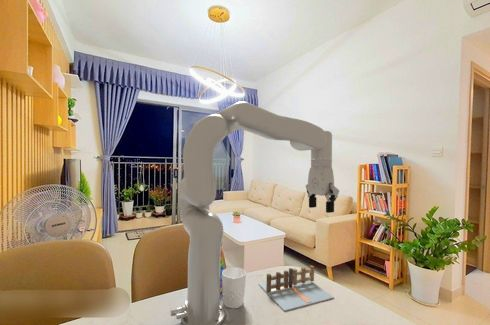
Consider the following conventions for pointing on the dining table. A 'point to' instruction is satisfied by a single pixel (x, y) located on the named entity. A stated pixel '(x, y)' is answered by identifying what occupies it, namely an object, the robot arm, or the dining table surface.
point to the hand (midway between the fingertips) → (320, 209)
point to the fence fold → (303, 275)
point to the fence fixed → (279, 280)
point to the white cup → (233, 287)
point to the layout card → (297, 294)
